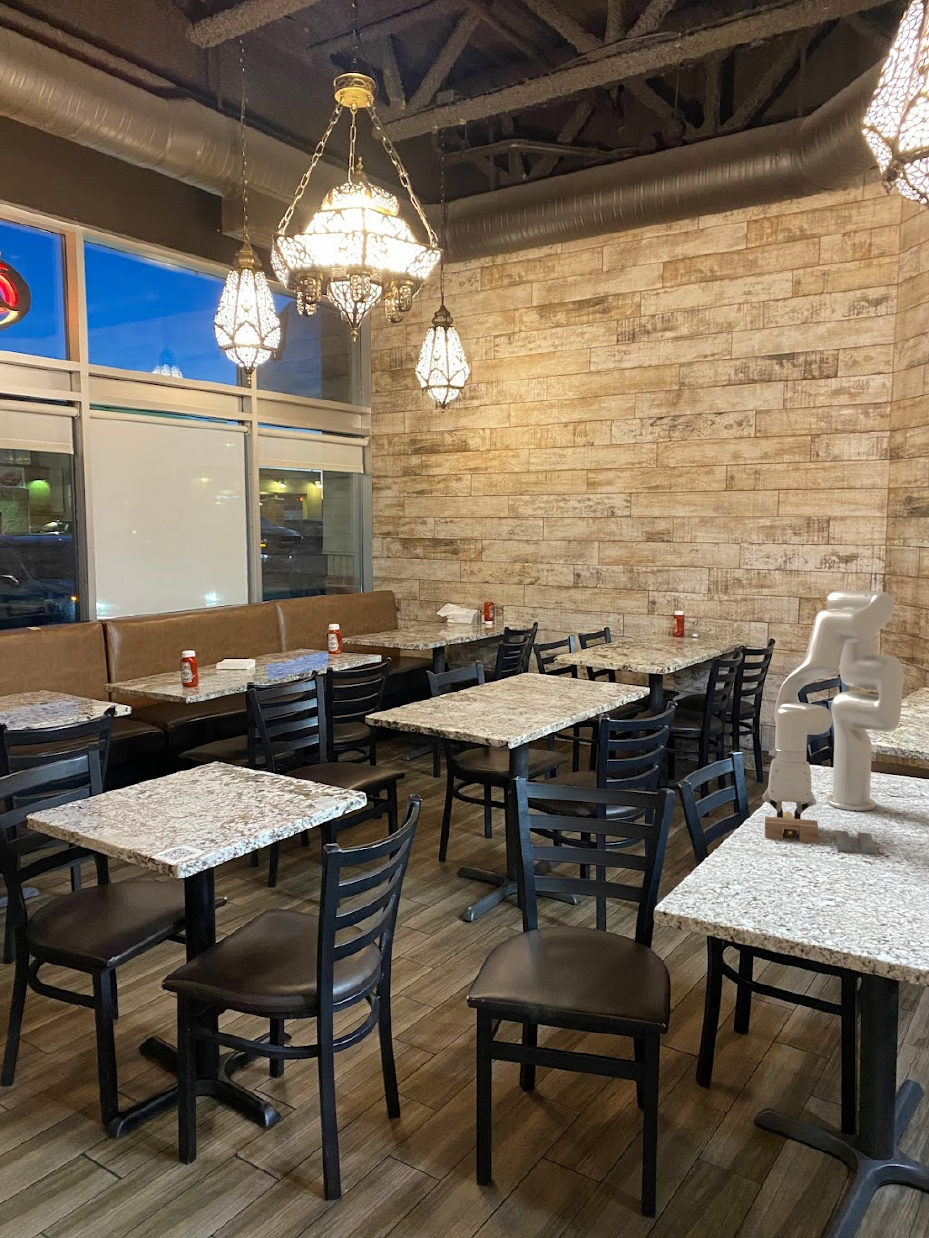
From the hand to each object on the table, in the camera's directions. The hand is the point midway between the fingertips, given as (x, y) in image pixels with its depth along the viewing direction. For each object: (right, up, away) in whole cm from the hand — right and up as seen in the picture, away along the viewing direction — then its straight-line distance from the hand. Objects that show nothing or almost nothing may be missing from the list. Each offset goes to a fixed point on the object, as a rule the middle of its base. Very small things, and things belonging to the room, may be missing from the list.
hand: (788, 826), depth 224 cm
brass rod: (-1, +1, -3) cm, 3 cm away
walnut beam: (-3, -1, -10) cm, 10 cm away
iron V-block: (+9, -2, -17) cm, 19 cm away
